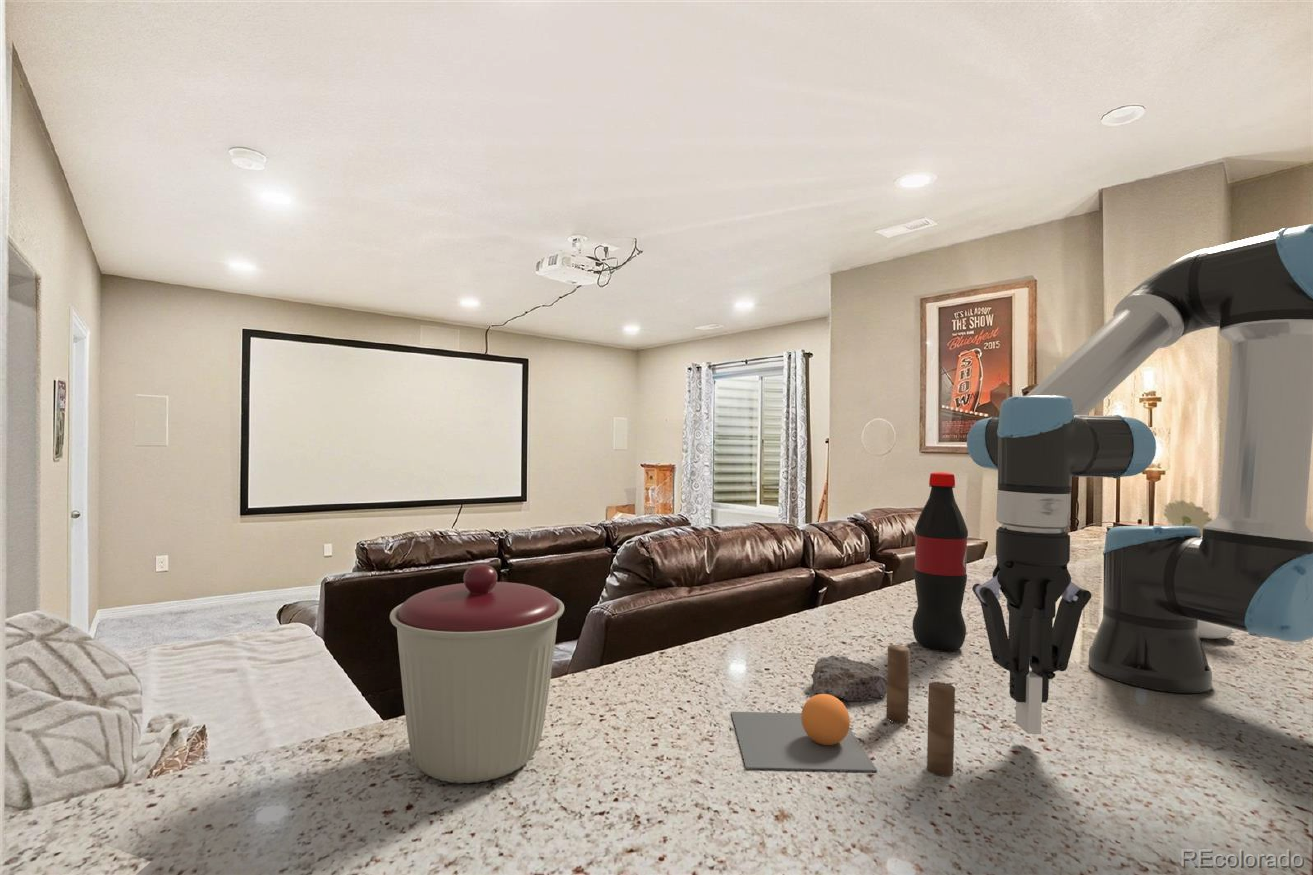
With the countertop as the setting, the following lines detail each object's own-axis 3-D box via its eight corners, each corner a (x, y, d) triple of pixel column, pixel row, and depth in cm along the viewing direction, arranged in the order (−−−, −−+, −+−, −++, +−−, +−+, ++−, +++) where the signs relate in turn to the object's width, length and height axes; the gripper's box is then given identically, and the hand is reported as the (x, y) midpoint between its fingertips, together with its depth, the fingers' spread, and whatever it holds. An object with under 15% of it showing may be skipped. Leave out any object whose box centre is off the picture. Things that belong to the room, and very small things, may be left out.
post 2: (946, 764, 72) (948, 682, 72) (957, 776, 69) (959, 691, 69) (922, 763, 72) (924, 681, 72) (933, 776, 69) (934, 691, 69)
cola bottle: (968, 644, 114) (972, 472, 114) (961, 658, 107) (965, 474, 107) (917, 635, 118) (920, 470, 118) (907, 648, 111) (911, 472, 111)
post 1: (903, 714, 84) (904, 645, 84) (911, 723, 82) (912, 651, 82) (883, 714, 84) (884, 644, 84) (890, 723, 82) (892, 651, 82)
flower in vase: (1250, 645, 117) (1253, 505, 117) (1185, 643, 117) (1188, 504, 117) (1191, 623, 130) (1194, 498, 130) (1133, 622, 130) (1136, 497, 130)
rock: (895, 697, 91) (896, 668, 91) (832, 708, 86) (833, 678, 86) (853, 675, 99) (853, 648, 99) (793, 685, 94) (793, 657, 94)
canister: (500, 824, 59) (505, 591, 59) (346, 783, 65) (350, 573, 65) (589, 738, 76) (592, 557, 76) (460, 712, 82) (463, 545, 82)
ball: (793, 690, 79) (799, 735, 79) (805, 709, 73) (812, 758, 73) (837, 683, 79) (844, 728, 79) (853, 701, 73) (860, 750, 73)
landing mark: (840, 715, 84) (840, 713, 84) (877, 771, 70) (877, 770, 70) (731, 713, 84) (731, 711, 84) (745, 769, 70) (746, 767, 70)
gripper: (993, 531, 73) (988, 742, 73) (1110, 533, 73) (1105, 745, 73) (961, 522, 80) (957, 713, 80) (1068, 524, 80) (1063, 716, 80)
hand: (1028, 728), depth 77 cm, fingers closed
